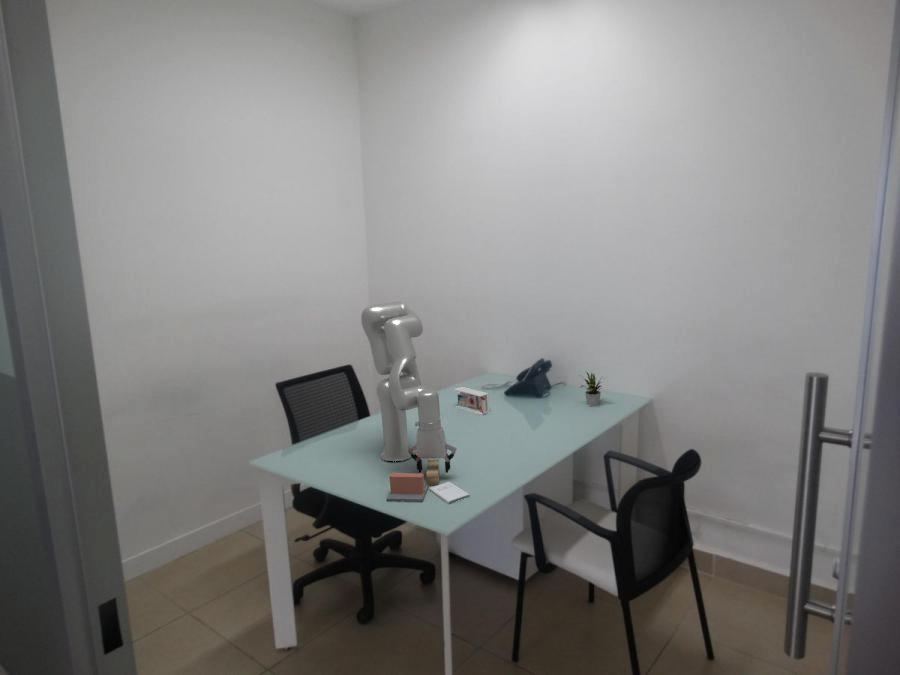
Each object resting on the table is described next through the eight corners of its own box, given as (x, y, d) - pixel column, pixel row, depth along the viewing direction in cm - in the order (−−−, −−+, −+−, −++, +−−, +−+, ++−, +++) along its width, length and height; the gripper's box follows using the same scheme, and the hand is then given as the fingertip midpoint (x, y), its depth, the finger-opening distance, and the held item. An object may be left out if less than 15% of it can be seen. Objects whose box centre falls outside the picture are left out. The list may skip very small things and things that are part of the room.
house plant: (570, 402, 276) (569, 369, 273) (595, 398, 280) (595, 366, 277) (585, 410, 262) (585, 376, 259) (611, 406, 266) (611, 372, 263)
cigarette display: (454, 407, 279) (453, 389, 277) (462, 404, 283) (461, 386, 281) (483, 415, 264) (482, 396, 262) (491, 412, 268) (490, 393, 266)
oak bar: (428, 470, 208) (427, 460, 208) (439, 469, 208) (438, 459, 208) (427, 487, 195) (426, 476, 194) (438, 486, 195) (438, 475, 194)
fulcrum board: (394, 487, 195) (392, 468, 194) (428, 488, 193) (427, 469, 192) (386, 501, 186) (385, 481, 184) (422, 502, 184) (421, 482, 182)
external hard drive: (448, 506, 181) (429, 492, 192) (470, 498, 185) (449, 485, 196) (448, 501, 181) (429, 487, 191) (469, 494, 185) (449, 480, 196)
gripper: (403, 429, 195) (407, 475, 198) (452, 428, 192) (456, 475, 195) (408, 422, 203) (412, 467, 206) (456, 421, 200) (459, 467, 203)
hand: (433, 471), depth 200 cm, fingers open, 9 cm apart
